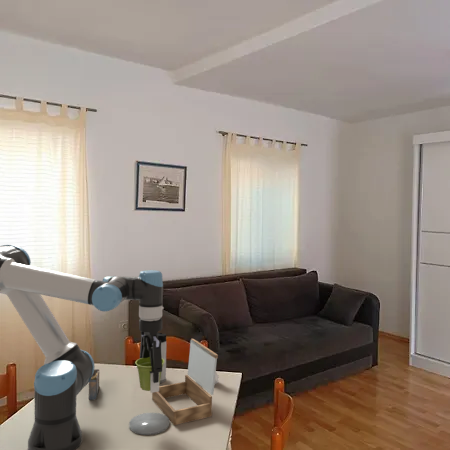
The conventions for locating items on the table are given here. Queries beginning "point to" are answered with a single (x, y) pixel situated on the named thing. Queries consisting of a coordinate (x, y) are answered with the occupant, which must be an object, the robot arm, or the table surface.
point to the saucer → (149, 423)
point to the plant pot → (145, 372)
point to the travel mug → (163, 355)
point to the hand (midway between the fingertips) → (150, 386)
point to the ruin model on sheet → (94, 385)
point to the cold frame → (193, 393)
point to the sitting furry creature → (215, 379)
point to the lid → (202, 365)
